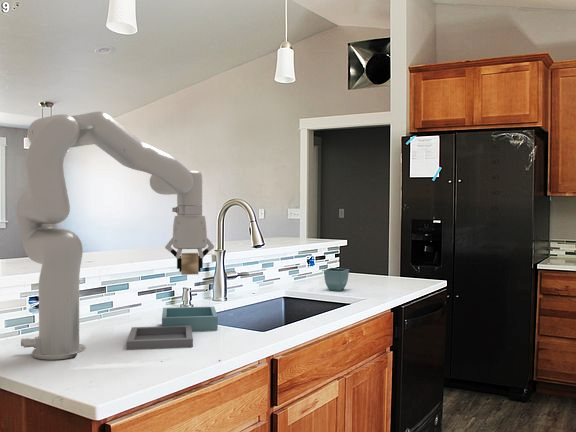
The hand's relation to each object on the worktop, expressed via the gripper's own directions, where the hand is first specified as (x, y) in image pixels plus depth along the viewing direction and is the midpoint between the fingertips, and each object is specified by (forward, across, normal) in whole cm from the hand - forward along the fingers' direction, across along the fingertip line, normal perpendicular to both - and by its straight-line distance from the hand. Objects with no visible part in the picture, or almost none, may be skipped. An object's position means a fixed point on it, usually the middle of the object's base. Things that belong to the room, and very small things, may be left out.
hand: (189, 270), depth 177 cm
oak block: (+1, 0, 0) cm, 1 cm away
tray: (+18, 0, 0) cm, 18 cm away
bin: (+18, -8, -18) cm, 26 cm away
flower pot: (+18, +65, +66) cm, 94 cm away
